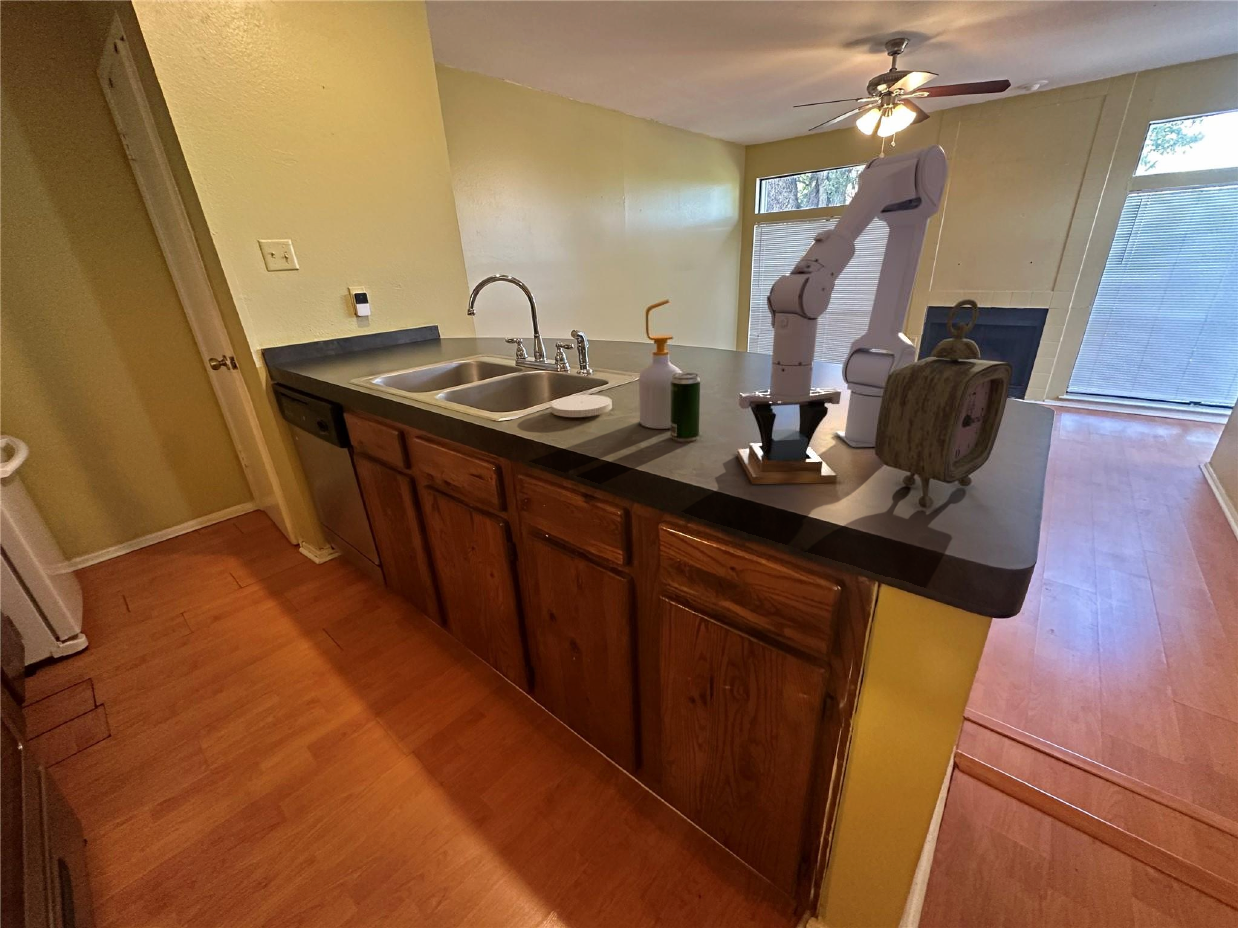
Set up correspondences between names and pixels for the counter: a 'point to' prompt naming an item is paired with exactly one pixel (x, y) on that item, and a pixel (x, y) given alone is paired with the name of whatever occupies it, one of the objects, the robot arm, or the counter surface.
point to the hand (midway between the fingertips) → (784, 450)
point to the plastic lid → (581, 405)
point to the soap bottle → (656, 383)
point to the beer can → (685, 406)
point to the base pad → (784, 468)
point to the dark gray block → (787, 445)
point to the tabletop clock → (943, 411)
